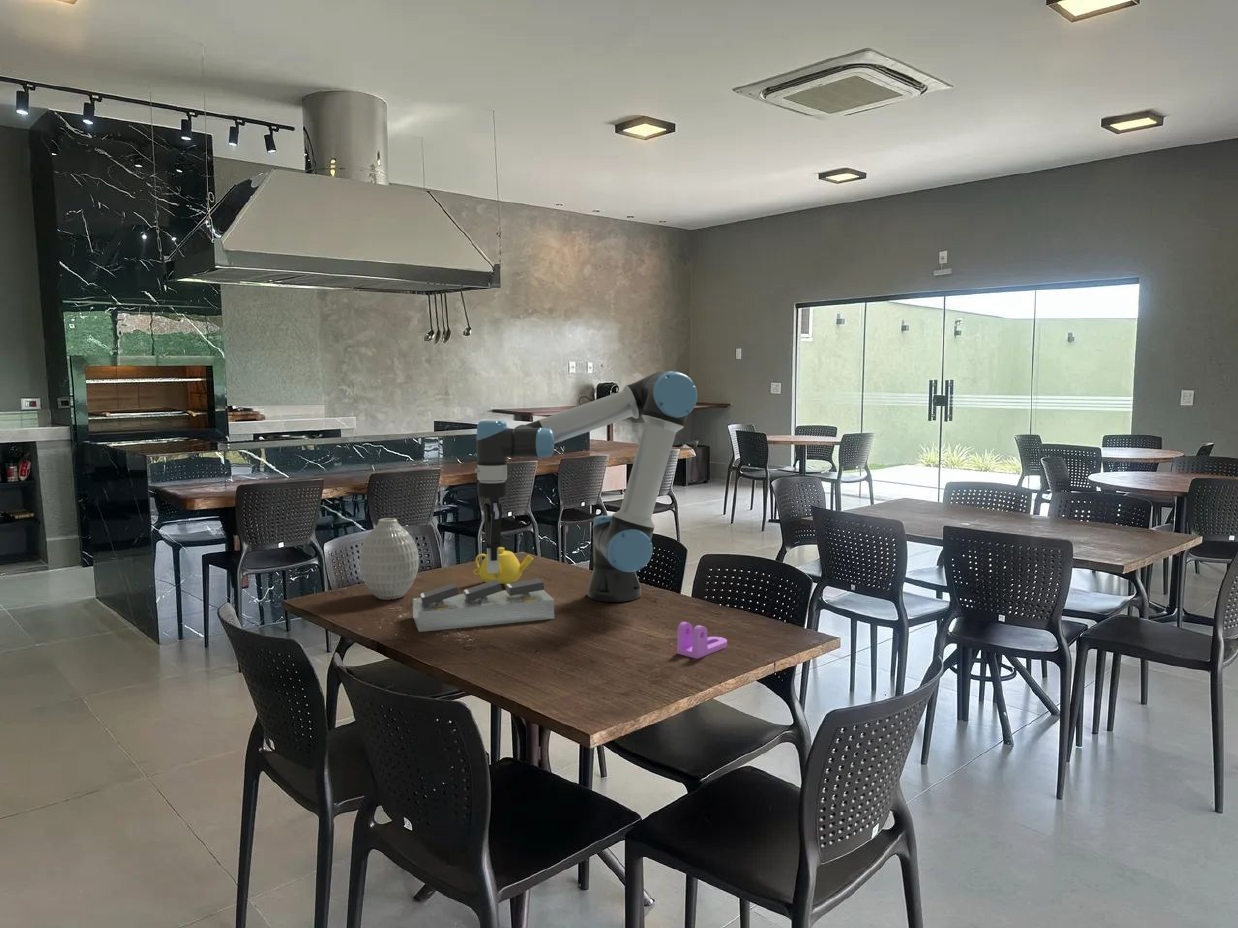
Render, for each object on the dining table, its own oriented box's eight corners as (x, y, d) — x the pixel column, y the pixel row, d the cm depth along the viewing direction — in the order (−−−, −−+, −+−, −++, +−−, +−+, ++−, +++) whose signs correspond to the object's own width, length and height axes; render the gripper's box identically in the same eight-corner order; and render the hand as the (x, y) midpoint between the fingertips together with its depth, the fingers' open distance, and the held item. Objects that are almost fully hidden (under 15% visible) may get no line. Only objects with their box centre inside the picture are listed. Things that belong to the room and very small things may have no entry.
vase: (431, 594, 245) (429, 517, 243) (388, 606, 232) (385, 525, 229) (392, 587, 254) (389, 513, 252) (348, 599, 240) (345, 520, 238)
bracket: (697, 659, 187) (697, 628, 186) (677, 654, 191) (677, 623, 190) (731, 645, 196) (732, 616, 196) (712, 640, 200) (712, 611, 200)
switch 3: (539, 585, 227) (538, 577, 227) (544, 589, 222) (543, 581, 222) (506, 591, 224) (505, 583, 224) (510, 595, 220) (509, 588, 219)
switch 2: (498, 586, 223) (496, 578, 223) (502, 590, 219) (500, 583, 218) (465, 597, 221) (463, 589, 220) (468, 602, 216) (466, 594, 216)
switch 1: (456, 589, 220) (454, 582, 220) (459, 594, 215) (456, 586, 215) (421, 601, 217) (419, 593, 217) (424, 605, 213) (421, 598, 212)
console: (541, 605, 232) (540, 584, 232) (554, 618, 219) (553, 596, 219) (413, 617, 221) (412, 595, 221) (418, 631, 208) (418, 609, 208)
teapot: (495, 592, 247) (495, 554, 246) (468, 584, 257) (468, 548, 256) (535, 584, 257) (534, 547, 256) (507, 577, 267) (507, 541, 266)
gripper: (473, 478, 223) (474, 568, 225) (481, 484, 211) (482, 578, 213) (501, 478, 225) (502, 566, 227) (511, 483, 213) (512, 576, 215)
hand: (492, 572), depth 220 cm, fingers closed
